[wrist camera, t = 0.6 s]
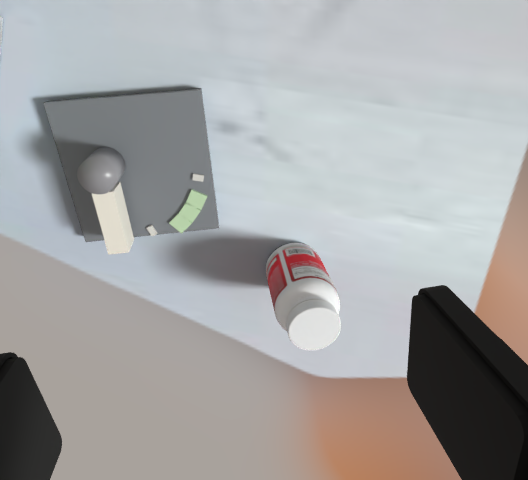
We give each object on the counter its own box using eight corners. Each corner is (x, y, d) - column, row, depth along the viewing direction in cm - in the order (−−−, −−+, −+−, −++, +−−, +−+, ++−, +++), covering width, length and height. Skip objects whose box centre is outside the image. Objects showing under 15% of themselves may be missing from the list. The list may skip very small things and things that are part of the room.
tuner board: (48, 100, 34) (41, 103, 33) (201, 88, 35) (200, 90, 33) (89, 236, 40) (84, 243, 39) (218, 223, 41) (218, 229, 39)
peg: (86, 148, 35) (72, 160, 31) (121, 145, 35) (111, 156, 32) (110, 238, 39) (100, 257, 35) (141, 235, 39) (134, 253, 36)
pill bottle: (282, 297, 46) (300, 368, 36) (254, 259, 43) (265, 323, 33) (329, 271, 45) (361, 336, 35) (304, 230, 42) (330, 288, 32)
